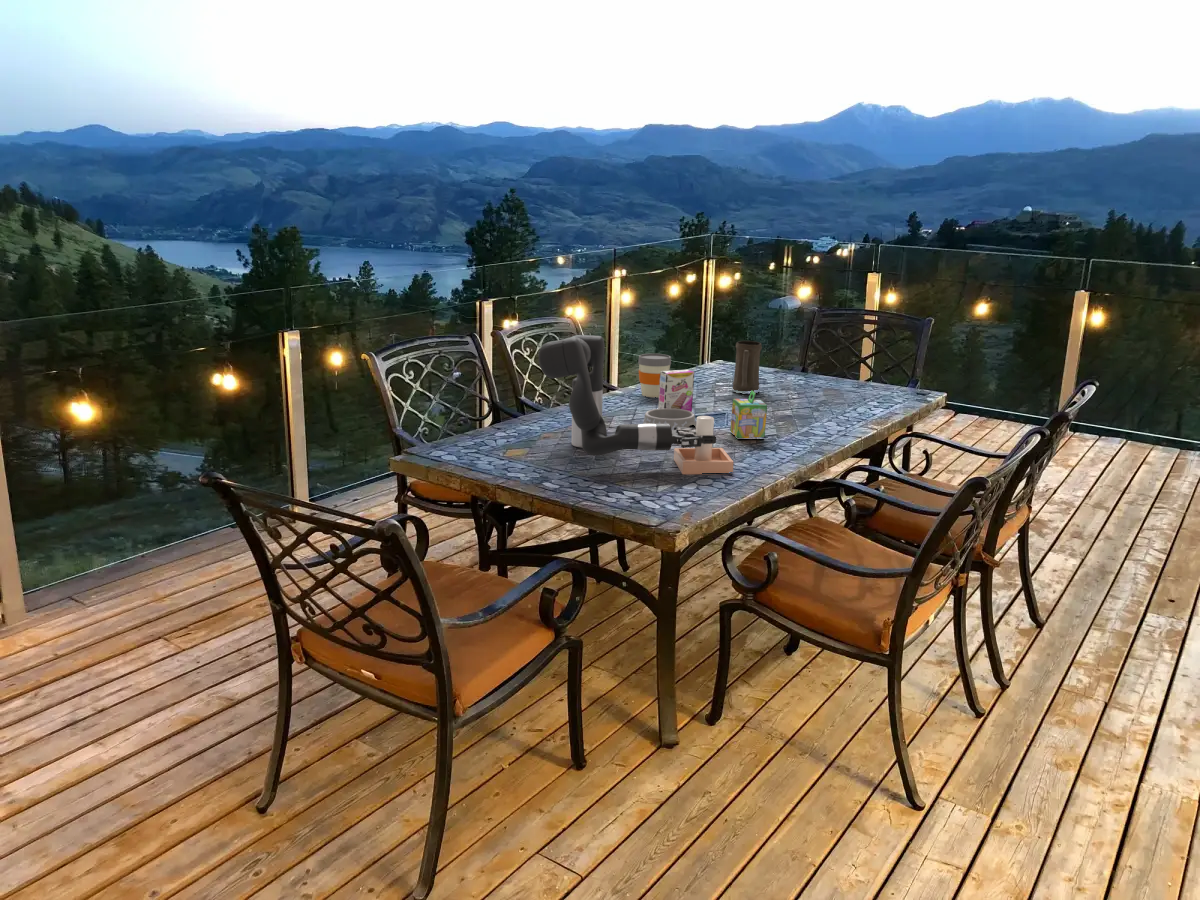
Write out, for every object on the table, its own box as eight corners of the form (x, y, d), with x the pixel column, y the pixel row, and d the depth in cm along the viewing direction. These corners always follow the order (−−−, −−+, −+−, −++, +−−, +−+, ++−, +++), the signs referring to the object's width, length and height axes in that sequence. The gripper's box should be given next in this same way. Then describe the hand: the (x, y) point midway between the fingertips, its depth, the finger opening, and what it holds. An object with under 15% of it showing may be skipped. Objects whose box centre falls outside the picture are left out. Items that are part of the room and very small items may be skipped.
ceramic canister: (692, 457, 250) (695, 415, 246) (709, 457, 250) (712, 415, 247) (696, 461, 245) (698, 419, 242) (713, 461, 245) (715, 420, 242)
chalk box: (729, 433, 285) (732, 388, 281) (757, 433, 286) (760, 388, 282) (736, 440, 276) (739, 394, 272) (765, 440, 277) (768, 394, 273)
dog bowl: (631, 429, 288) (632, 413, 286) (664, 419, 302) (664, 404, 300) (674, 439, 278) (675, 422, 276) (706, 428, 291) (707, 412, 290)
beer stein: (731, 388, 353) (734, 339, 346) (758, 389, 352) (761, 339, 345) (732, 398, 339) (736, 348, 332) (760, 400, 338) (764, 348, 331)
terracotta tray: (673, 459, 254) (674, 448, 253) (721, 459, 256) (722, 447, 255) (682, 474, 241) (683, 462, 240) (732, 473, 242) (733, 461, 241)
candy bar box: (664, 421, 299) (666, 373, 294) (657, 417, 303) (659, 370, 298) (692, 418, 303) (695, 371, 299) (685, 415, 308) (687, 368, 303)
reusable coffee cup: (637, 398, 332) (639, 358, 328) (636, 391, 344) (637, 353, 340) (671, 398, 332) (672, 359, 328) (668, 391, 344) (670, 353, 340)
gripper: (657, 430, 237) (720, 430, 238) (650, 417, 250) (709, 417, 252) (656, 457, 239) (718, 457, 240) (649, 443, 252) (707, 443, 254)
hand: (713, 437), depth 246 cm, fingers closed on ceramic canister, 4 cm apart
